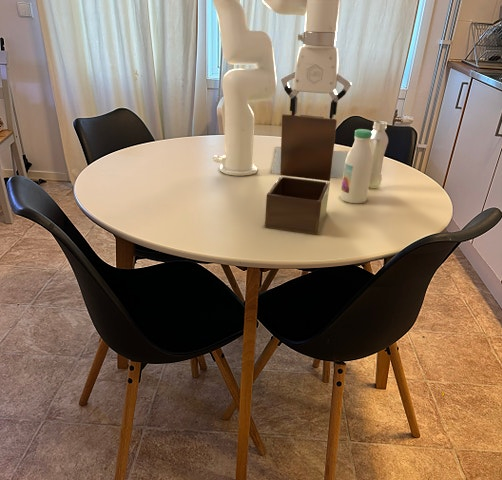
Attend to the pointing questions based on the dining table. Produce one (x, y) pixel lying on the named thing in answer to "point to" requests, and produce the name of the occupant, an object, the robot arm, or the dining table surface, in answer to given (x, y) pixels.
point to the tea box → (296, 205)
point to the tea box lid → (307, 146)
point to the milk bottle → (357, 169)
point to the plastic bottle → (377, 152)
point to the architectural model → (337, 163)
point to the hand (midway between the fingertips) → (312, 116)
